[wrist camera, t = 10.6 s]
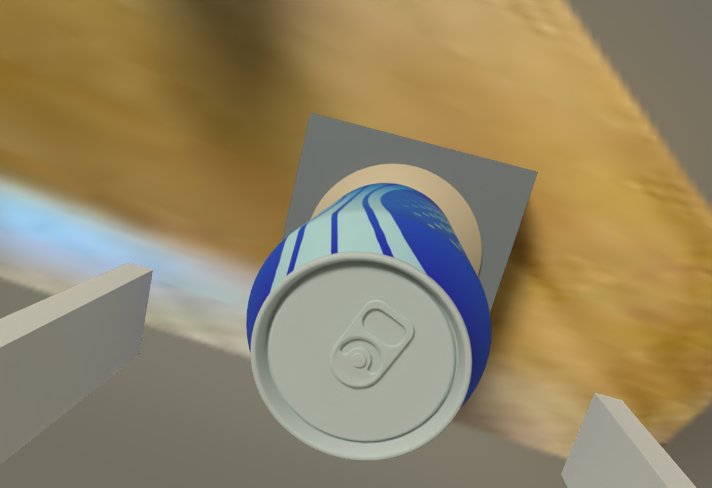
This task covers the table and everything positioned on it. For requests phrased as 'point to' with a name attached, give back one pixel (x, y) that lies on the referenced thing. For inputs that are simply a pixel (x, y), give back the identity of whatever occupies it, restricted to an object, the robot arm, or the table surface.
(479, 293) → the beer can
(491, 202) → the riser
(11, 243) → the table surface
